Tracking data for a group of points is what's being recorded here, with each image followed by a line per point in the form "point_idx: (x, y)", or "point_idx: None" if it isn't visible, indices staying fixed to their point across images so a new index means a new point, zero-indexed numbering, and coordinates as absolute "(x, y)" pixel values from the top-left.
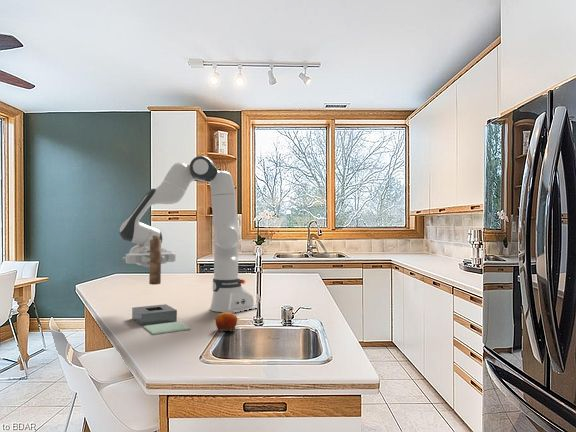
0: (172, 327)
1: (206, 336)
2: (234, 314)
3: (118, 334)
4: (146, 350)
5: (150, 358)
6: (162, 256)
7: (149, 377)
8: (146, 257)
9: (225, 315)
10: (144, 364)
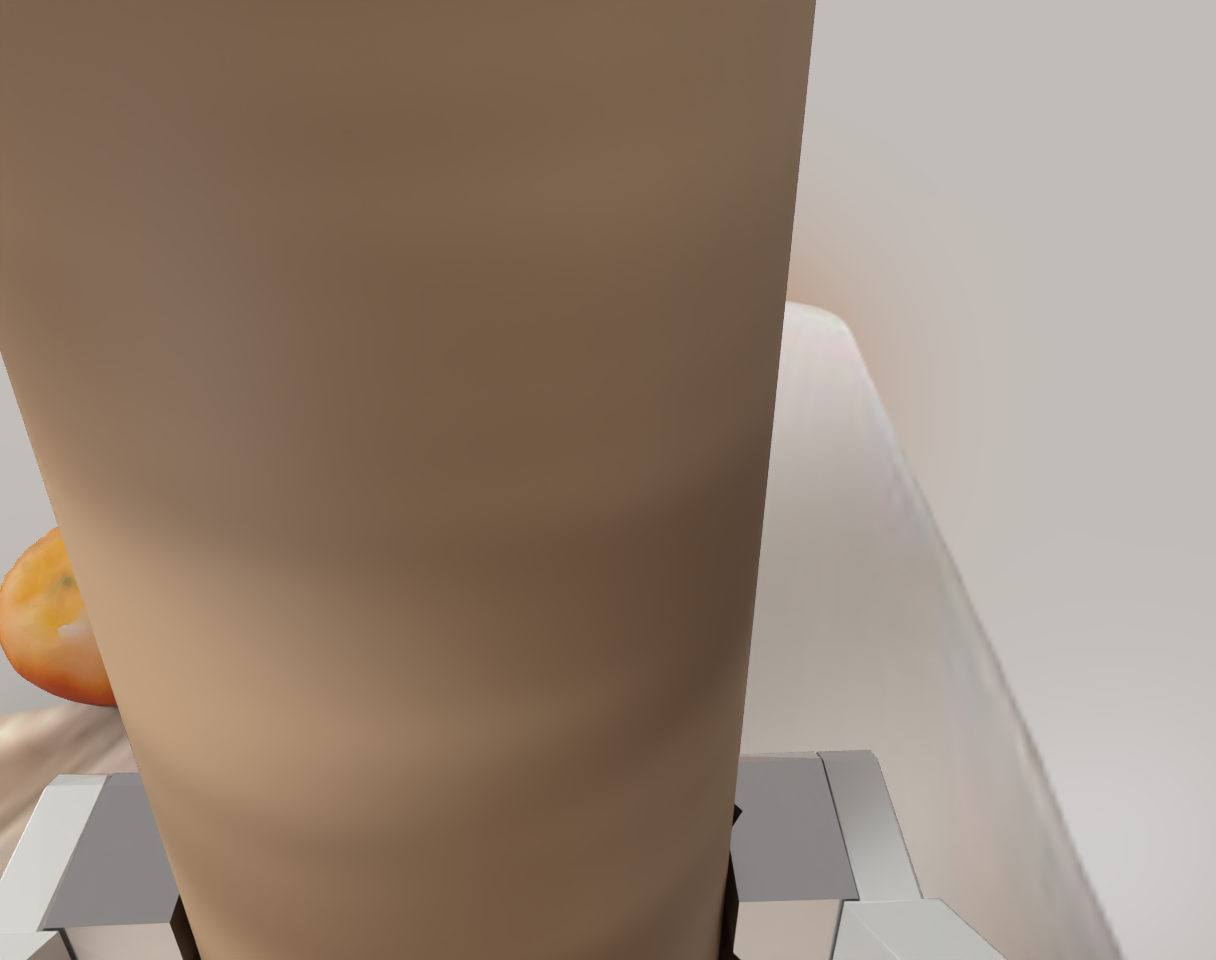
0: None
1: None
2: (32, 545)
3: (1071, 954)
4: (825, 530)
5: (815, 443)
6: (18, 937)
7: (838, 325)
8: (889, 800)
9: None
10: (849, 404)
